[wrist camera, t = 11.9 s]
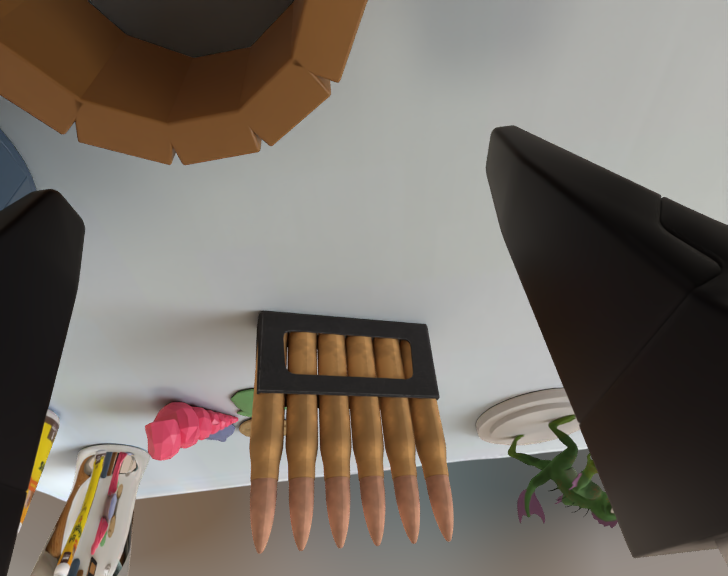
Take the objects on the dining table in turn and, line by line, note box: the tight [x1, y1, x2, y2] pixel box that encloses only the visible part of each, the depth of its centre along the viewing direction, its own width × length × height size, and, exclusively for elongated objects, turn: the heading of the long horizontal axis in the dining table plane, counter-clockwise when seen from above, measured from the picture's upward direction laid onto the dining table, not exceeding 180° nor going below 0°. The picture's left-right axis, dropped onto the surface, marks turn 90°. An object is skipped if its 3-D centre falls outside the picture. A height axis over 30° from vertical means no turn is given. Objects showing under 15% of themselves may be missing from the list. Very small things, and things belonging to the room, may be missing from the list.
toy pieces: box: [145, 389, 287, 460], centre depth 33 cm, size 12×11×4 cm
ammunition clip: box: [249, 311, 453, 554], centre depth 22 cm, size 11×2×12 cm, turn 75°
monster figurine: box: [476, 388, 618, 528], centre depth 38 cm, size 12×12×10 cm
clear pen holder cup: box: [30, 444, 150, 576], centre depth 35 cm, size 7×7×15 cm
